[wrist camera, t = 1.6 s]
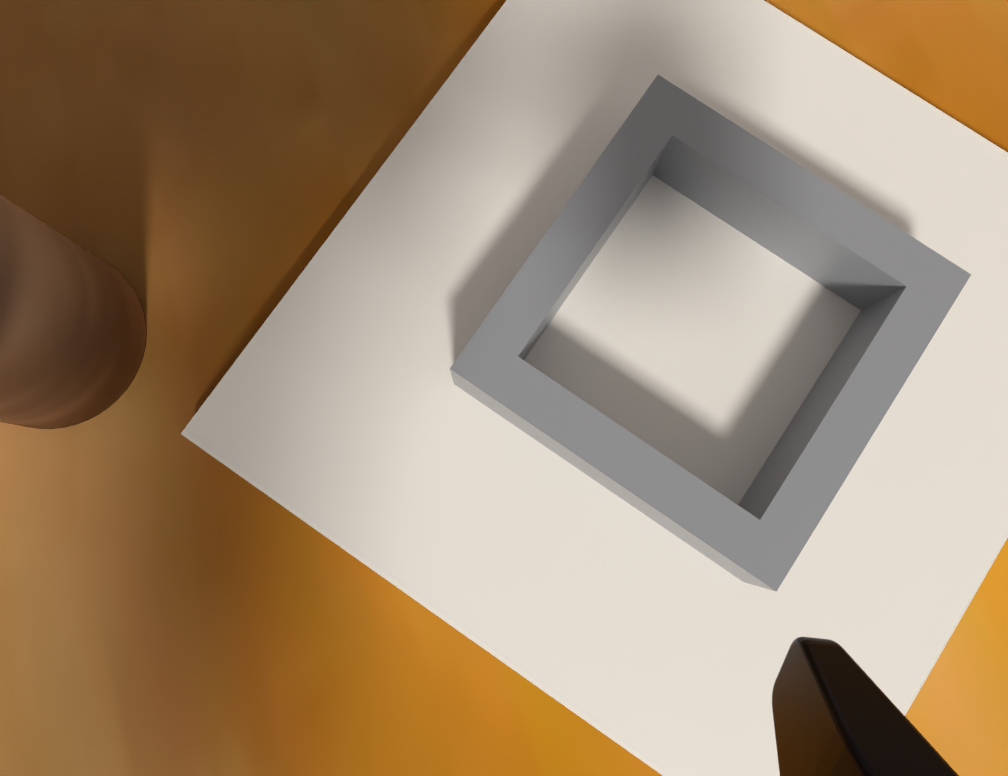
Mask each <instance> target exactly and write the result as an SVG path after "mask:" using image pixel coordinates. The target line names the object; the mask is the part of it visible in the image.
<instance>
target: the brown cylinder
mask: <svg viewBox="0 0 1008 776" xmlns="http://www.w3.org/2000/svg"><path fill="white" fill-rule="evenodd" d="M145 345H146V322H145V316H144V311H143V309H142V306H141V303H140V300H139V298H138V296H137V294H136V292H135V291H134V289H133V288H132V286H131V285H130V283H129V282H128V281H127V280H126V279H125V278H124V277H123V276H122V274H121V273H119V272H118V271H117V270H116V269H114V268H113V267H112V266H110V265H109V264H107V263H106V262H104V261H103V260H101V259H99V258H98V257H96V256H95V255H93V254H92V253H90V252H89V251H87V250H85V249H84V248H82V247H81V246H79V245H78V244H76V243H75V242H73V241H72V240H70V239H68V238H67V237H65V236H64V235H62V234H61V233H59V232H58V231H56V230H54V229H53V228H51V227H50V226H48V225H47V224H45V223H44V222H42V221H41V220H39V219H37V218H36V217H34V216H33V215H31V214H30V213H28V212H27V211H25V210H23V209H22V208H20V207H19V206H17V205H16V204H14V203H13V202H11V201H10V200H8V199H6V198H5V197H3V196H2V195H0V422H4V423H9V424H15V425H21V426H26V427H32V428H39V429H54V428H63V427H68V426H72V425H76V424H79V423H81V422H84V421H87V420H89V419H91V418H93V417H95V416H96V415H98V414H100V413H101V412H103V411H104V410H106V409H107V408H109V407H110V406H111V405H112V404H113V403H114V402H115V401H117V400H118V399H119V398H120V396H121V395H122V394H123V393H124V392H125V391H126V390H127V388H128V387H129V385H130V384H131V382H132V381H133V379H134V377H135V375H136V373H137V371H138V369H139V367H140V364H141V361H142V359H143V355H144V350H145Z"/></svg>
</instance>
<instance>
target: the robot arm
mask: <svg viewBox="0 0 1008 776" xmlns="http://www.w3.org/2000/svg"><path fill="white" fill-rule="evenodd" d="M772 711H773V720H774V729H775V738H776V747H777V755H778V764H779V773H780V776H959V775H958V774H957V773H956V772H955V771H954V770H953V769H952V768H951V767H950V766H949V764H948V763H947V762H946V761H945V760H944V759H943V758H942V757H941V756H940V754H939V753H938V752H937V751H936V750H935V749H934V748H933V747H932V746H931V745H930V743H929V742H928V741H927V740H926V739H925V738H924V737H923V736H922V735H921V733H920V732H919V731H918V730H917V729H916V728H915V727H914V726H913V725H912V724H911V722H910V721H909V720H908V719H907V718H906V717H905V716H904V715H903V714H902V712H901V711H900V710H899V709H898V708H897V707H896V706H895V705H894V704H893V703H892V701H891V700H890V699H889V698H888V697H887V696H886V695H885V694H884V693H883V691H882V690H881V689H880V688H879V687H878V686H877V685H876V684H875V683H874V682H873V680H872V679H871V678H870V677H869V676H868V675H867V674H866V673H865V672H864V670H863V669H862V668H861V667H860V666H859V665H858V664H857V663H856V662H855V661H854V659H853V658H852V657H851V656H850V655H849V654H848V653H847V652H846V651H845V649H844V648H843V647H842V646H841V645H839V644H838V643H837V642H835V641H833V640H829V639H821V638H812V637H798V638H796V639H795V640H794V641H793V642H792V644H791V645H790V648H789V650H788V652H787V655H786V657H785V659H784V662H783V664H782V666H781V669H780V671H779V673H778V676H777V678H776V680H775V683H774V686H773V691H772Z"/></svg>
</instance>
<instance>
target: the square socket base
mask: <svg viewBox="0 0 1008 776" xmlns="http://www.w3.org/2000/svg"><path fill="white" fill-rule="evenodd" d="M181 435H183V436H184V437H186V438H187V439H189V440H190V441H191V442H193V443H194V444H196V445H197V446H198V447H200V448H201V449H203V450H204V451H205V452H207V453H208V454H210V455H211V456H213V457H214V458H215V459H217V460H218V461H220V462H221V463H222V464H224V465H225V466H227V467H228V468H229V469H231V470H232V471H234V472H235V473H236V474H238V475H239V476H241V477H242V478H244V479H245V480H246V481H248V482H249V483H251V484H252V485H253V486H255V487H256V488H258V489H259V490H260V491H262V492H263V493H265V494H266V495H268V496H269V497H270V498H272V499H273V500H275V501H276V502H277V503H279V504H280V505H282V506H283V507H284V508H286V509H287V510H289V511H290V512H292V513H293V514H294V515H296V516H297V517H299V518H300V519H301V520H303V521H304V522H306V523H307V524H308V525H310V526H311V527H313V528H314V529H316V530H317V531H318V532H320V533H321V534H323V535H324V536H325V537H327V538H328V539H330V540H331V541H332V542H334V543H335V544H337V545H338V546H340V547H341V548H342V549H344V550H345V551H347V552H348V553H349V554H351V555H352V556H354V557H355V558H356V559H358V560H359V561H361V562H362V563H364V564H365V565H366V566H368V567H369V568H371V569H372V570H373V571H375V572H376V573H378V574H379V575H380V576H382V577H383V578H385V579H386V580H388V581H389V582H390V583H392V584H393V585H395V586H396V587H397V588H399V589H400V590H402V591H403V592H404V593H406V594H407V595H409V596H410V597H412V598H413V599H414V600H416V601H417V602H419V603H420V604H421V605H423V606H424V607H426V608H427V609H428V610H430V611H431V612H433V613H434V614H436V615H437V616H438V617H440V618H441V619H443V620H444V621H445V622H447V623H448V624H450V625H451V626H452V627H454V628H455V629H457V630H458V631H459V632H461V633H462V634H464V635H465V636H467V637H468V638H469V639H471V640H472V641H474V642H475V643H476V644H478V645H479V646H481V647H482V648H483V649H485V650H486V651H488V652H489V653H491V654H492V655H493V656H495V657H496V658H498V659H499V660H500V661H502V662H503V663H505V664H506V665H507V666H509V667H510V668H512V669H513V670H515V671H516V672H517V673H519V674H520V675H522V676H523V677H524V678H526V679H527V680H529V681H530V682H531V683H533V684H534V685H536V686H537V687H539V688H540V689H541V690H543V691H544V692H546V693H547V694H548V695H550V696H551V697H553V698H554V699H555V700H557V701H558V702H560V703H561V704H563V705H564V706H565V707H567V708H568V709H570V710H571V711H572V712H574V713H575V714H577V715H578V716H579V717H581V718H582V719H584V720H585V721H587V722H588V723H589V724H591V725H592V726H594V727H595V728H596V729H598V730H599V731H601V732H602V733H603V734H605V735H606V736H608V737H609V738H611V739H612V740H613V741H615V742H616V743H618V744H619V745H620V746H622V747H623V748H625V749H626V750H627V751H629V752H630V753H632V754H633V755H635V756H636V757H637V758H639V759H640V760H642V761H643V762H644V763H646V764H647V765H649V766H650V767H651V768H653V769H654V770H656V771H657V772H659V773H660V774H661V775H663V776H780V773H779V764H778V755H777V747H776V738H775V729H774V720H773V711H772V691H773V686H774V683H775V680H776V678H777V676H778V673H779V671H780V669H781V666H782V664H783V662H784V659H785V657H786V655H787V652H788V650H789V648H790V645H791V644H792V642H793V641H794V640H795V639H796V638H798V637H812V638H821V639H829V640H833V641H835V642H837V643H838V644H839V645H841V646H842V647H843V648H844V649H845V651H846V652H847V653H848V654H849V655H850V656H851V657H852V658H853V659H854V661H855V662H856V663H857V664H858V665H859V666H860V667H861V668H862V669H863V670H864V672H865V673H866V674H867V675H868V676H869V677H870V678H871V679H872V680H873V682H874V683H875V684H876V685H877V686H878V687H879V688H880V689H881V690H882V691H883V693H884V694H885V695H886V696H887V697H888V698H889V699H890V700H891V701H892V703H893V704H894V705H895V706H896V707H897V708H898V709H899V710H900V711H901V712H902V714H903V715H904V716H905V715H906V713H907V711H908V709H909V708H910V706H911V704H912V702H913V701H914V699H915V697H916V696H917V694H918V692H919V690H920V689H921V687H922V685H923V683H924V682H925V680H926V678H927V676H928V675H929V673H930V671H931V670H932V668H933V666H934V664H935V663H936V661H937V659H938V657H939V656H940V654H941V652H942V650H943V649H944V647H945V645H946V643H947V642H948V640H949V638H950V637H951V635H952V633H953V631H954V630H955V628H956V626H957V624H958V623H959V621H960V619H961V617H962V616H963V614H964V612H965V610H966V609H967V607H968V605H969V604H970V602H971V600H972V598H973V597H974V595H975V593H976V591H977V590H978V588H979V586H980V584H981V583H982V581H983V579H984V577H985V576H986V574H987V572H988V571H989V569H990V567H991V565H992V564H993V562H994V560H995V558H996V557H997V555H998V553H999V551H1000V550H1001V548H1002V546H1003V544H1004V543H1005V541H1006V539H1007V538H1008V152H1006V151H1004V150H1003V149H1001V148H1000V147H998V146H996V145H995V144H993V143H992V142H990V141H988V140H987V139H985V138H984V137H982V136H980V135H979V134H977V133H976V132H974V131H972V130H971V129H969V128H968V127H966V126H964V125H963V124H961V123H960V122H958V121H956V120H955V119H953V118H952V117H950V116H948V115H947V114H945V113H944V112H942V111H940V110H939V109H937V108H936V107H934V106H932V105H931V104H929V103H928V102H926V101H924V100H923V99H921V98H920V97H918V96H916V95H915V94H913V93H912V92H910V91H908V90H907V89H905V88H904V87H902V86H900V85H899V84H897V83H896V82H894V81H892V80H891V79H889V78H888V77H886V76H884V75H883V74H881V73H880V72H878V71H876V70H875V69H873V68H871V67H870V66H868V65H867V64H865V63H863V62H862V61H860V60H859V59H857V58H855V57H854V56H852V55H851V54H849V53H847V52H846V51H844V50H843V49H841V48H839V47H838V46H836V45H835V44H833V43H831V42H830V41H828V40H827V39H825V38H823V37H822V36H820V35H819V34H817V33H815V32H814V31H812V30H811V29H809V28H807V27H806V26H804V25H803V24H801V23H799V22H798V21H796V20H795V19H793V18H791V17H790V16H788V15H787V14H785V13H783V12H782V11H780V10H779V9H777V8H775V7H774V6H772V5H771V4H769V3H767V2H766V1H764V0H506V2H505V3H504V4H503V6H502V7H501V8H500V10H499V11H498V12H497V14H496V15H495V16H494V18H493V19H492V20H491V22H490V23H489V24H488V25H487V27H486V28H485V29H484V31H483V32H482V33H481V35H480V36H479V37H478V39H477V40H476V41H475V43H474V44H473V45H472V47H471V48H470V49H469V51H468V52H467V53H466V55H465V56H464V57H463V59H462V60H461V61H460V63H459V64H458V65H457V67H456V68H455V69H454V71H453V72H452V73H451V75H450V76H449V77H448V79H447V80H446V81H445V83H444V84H443V85H442V87H441V88H440V89H439V91H438V92H437V93H436V95H435V96H434V97H433V99H432V100H431V101H430V103H429V104H428V105H427V107H426V108H425V109H424V111H423V112H422V113H421V115H420V116H419V117H418V119H417V120H416V121H415V123H414V124H413V125H412V127H411V128H410V129H409V131H408V132H407V133H406V135H405V136H404V137H403V139H402V140H401V141H400V143H399V144H398V145H397V147H396V148H395V149H394V151H393V152H392V153H391V155H390V156H389V157H388V159H387V160H386V161H385V162H384V164H383V165H382V166H381V168H380V169H379V170H378V172H377V173H376V174H375V176H374V177H373V178H372V180H371V181H370V182H369V184H368V185H367V186H366V188H365V189H364V190H363V192H362V193H361V194H360V196H359V197H358V198H357V200H356V201H355V202H354V204H353V205H352V206H351V208H350V209H349V210H348V212H347V213H346V214H345V216H344V217H343V218H342V220H341V221H340V222H339V224H338V225H337V226H336V228H335V229H334V230H333V232H332V233H331V234H330V236H329V237H328V238H327V240H326V241H325V242H324V244H323V245H322V246H321V248H320V249H319V250H318V252H317V253H316V254H315V256H314V257H313V258H312V260H311V261H310V262H309V264H308V265H307V266H306V268H305V269H304V270H303V272H302V273H301V274H300V276H299V277H298V278H297V280H296V281H295V282H294V284H293V285H292V286H291V288H290V289H289V290H288V292H287V293H286V294H285V296H284V297H283V298H282V299H281V301H280V302H279V303H278V305H277V306H276V307H275V309H274V310H273V311H272V313H271V314H270V315H269V317H268V318H267V319H266V321H265V322H264V323H263V325H262V326H261V327H260V329H259V330H258V331H257V333H256V334H255V335H254V337H253V338H252V339H251V341H250V342H249V343H248V345H247V346H246V347H245V349H244V350H243V351H242V353H241V354H240V355H239V357H238V358H237V359H236V361H235V362H234V363H233V365H232V366H231V367H230V369H229V370H228V371H227V373H226V374H225V375H224V377H223V378H222V379H221V381H220V382H219V383H218V385H217V386H216V387H215V389H214V390H213V391H212V393H211V394H210V395H209V397H208V398H207V399H206V401H205V402H204V403H203V405H202V406H201V407H200V409H199V410H198V411H197V413H196V414H195V415H194V417H193V418H192V419H191V421H190V422H189V423H188V425H187V426H186V427H185V429H184V430H183V431H182V433H181Z"/></svg>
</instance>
